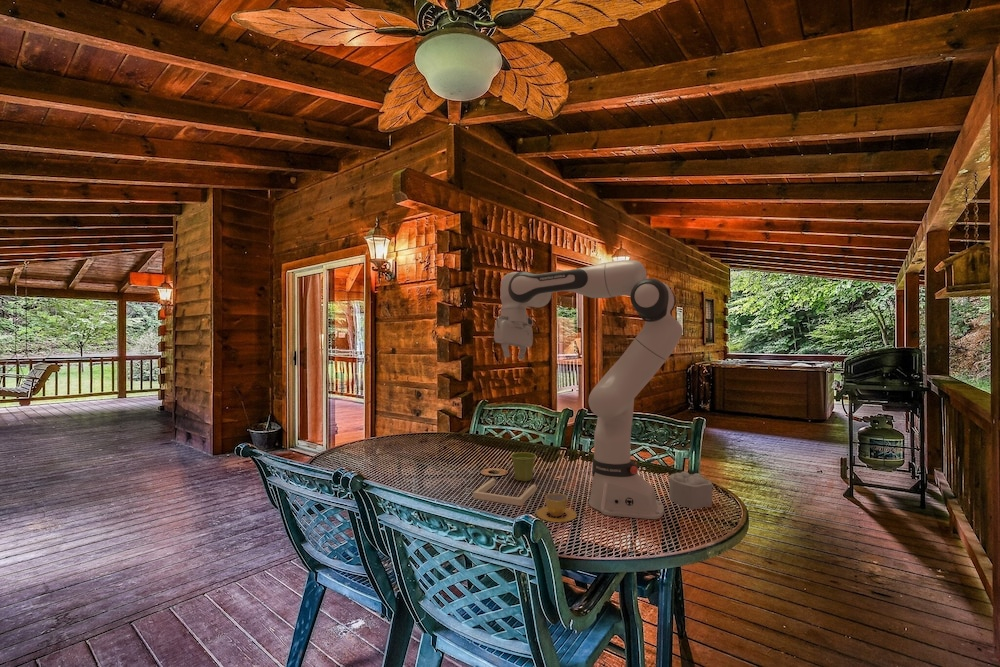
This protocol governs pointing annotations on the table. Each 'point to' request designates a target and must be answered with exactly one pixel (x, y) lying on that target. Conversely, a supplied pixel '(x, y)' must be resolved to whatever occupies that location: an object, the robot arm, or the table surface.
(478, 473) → the table surface
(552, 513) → the cup
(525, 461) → the plant pot
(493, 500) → the frame
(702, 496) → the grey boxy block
